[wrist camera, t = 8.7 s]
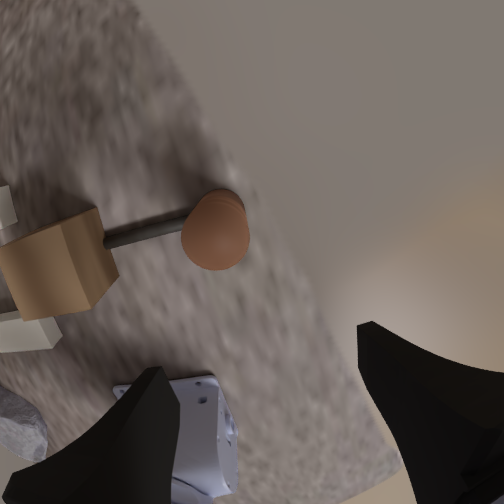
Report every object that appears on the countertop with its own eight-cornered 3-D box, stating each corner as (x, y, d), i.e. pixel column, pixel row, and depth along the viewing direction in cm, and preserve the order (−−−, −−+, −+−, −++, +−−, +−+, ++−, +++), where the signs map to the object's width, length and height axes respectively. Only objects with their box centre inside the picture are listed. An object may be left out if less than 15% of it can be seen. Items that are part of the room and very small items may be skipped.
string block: (235, 168, 18) (235, 173, 13) (253, 244, 20) (260, 282, 14) (34, 229, 18) (-15, 255, 13) (56, 290, 20) (16, 329, 14)
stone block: (49, 397, 26) (-20, 370, 22) (41, 429, 22) (-34, 398, 18) (57, 444, 30) (-3, 422, 26) (52, 471, 25) (-10, 447, 22)
